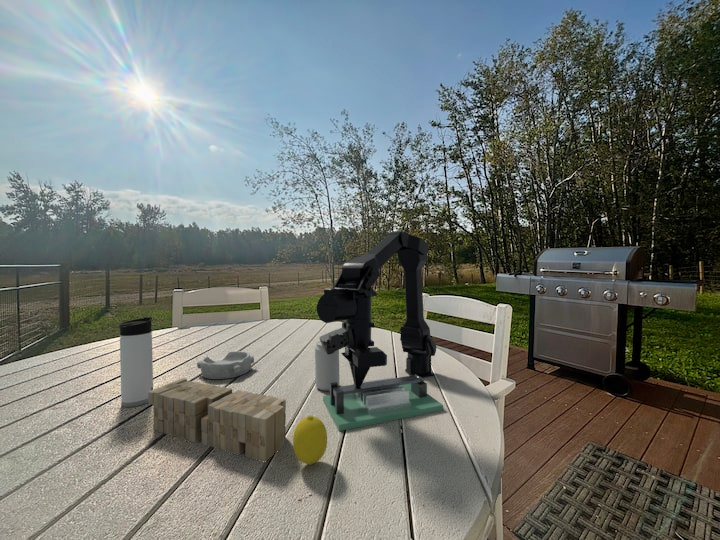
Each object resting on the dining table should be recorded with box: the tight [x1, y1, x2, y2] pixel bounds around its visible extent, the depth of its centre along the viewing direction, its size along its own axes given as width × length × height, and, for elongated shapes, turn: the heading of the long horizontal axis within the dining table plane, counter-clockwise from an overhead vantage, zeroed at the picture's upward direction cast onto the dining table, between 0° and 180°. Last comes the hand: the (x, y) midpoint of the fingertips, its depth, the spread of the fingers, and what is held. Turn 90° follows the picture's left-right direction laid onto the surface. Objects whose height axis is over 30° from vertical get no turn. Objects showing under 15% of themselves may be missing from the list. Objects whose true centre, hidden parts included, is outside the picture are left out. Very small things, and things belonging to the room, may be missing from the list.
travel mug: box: [119, 316, 154, 408], centre depth 74 cm, size 6×7×20 cm
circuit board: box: [322, 384, 444, 432], centre depth 70 cm, size 24×14×1 cm, turn 110°
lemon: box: [292, 414, 328, 466], centre depth 50 cm, size 6×6×8 cm
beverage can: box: [314, 340, 341, 392], centre depth 81 cm, size 6×6×12 cm
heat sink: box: [329, 376, 428, 414], centre depth 70 cm, size 22×10×5 cm, turn 110°
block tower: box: [147, 377, 287, 462], centre depth 59 cm, size 8×8×29 cm
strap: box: [333, 374, 425, 396], centre depth 70 cm, size 22×3×1 cm, turn 110°
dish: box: [196, 350, 255, 380], centre depth 94 cm, size 14×14×5 cm
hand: (357, 386), depth 68 cm, fingers closed, pressing on strap
